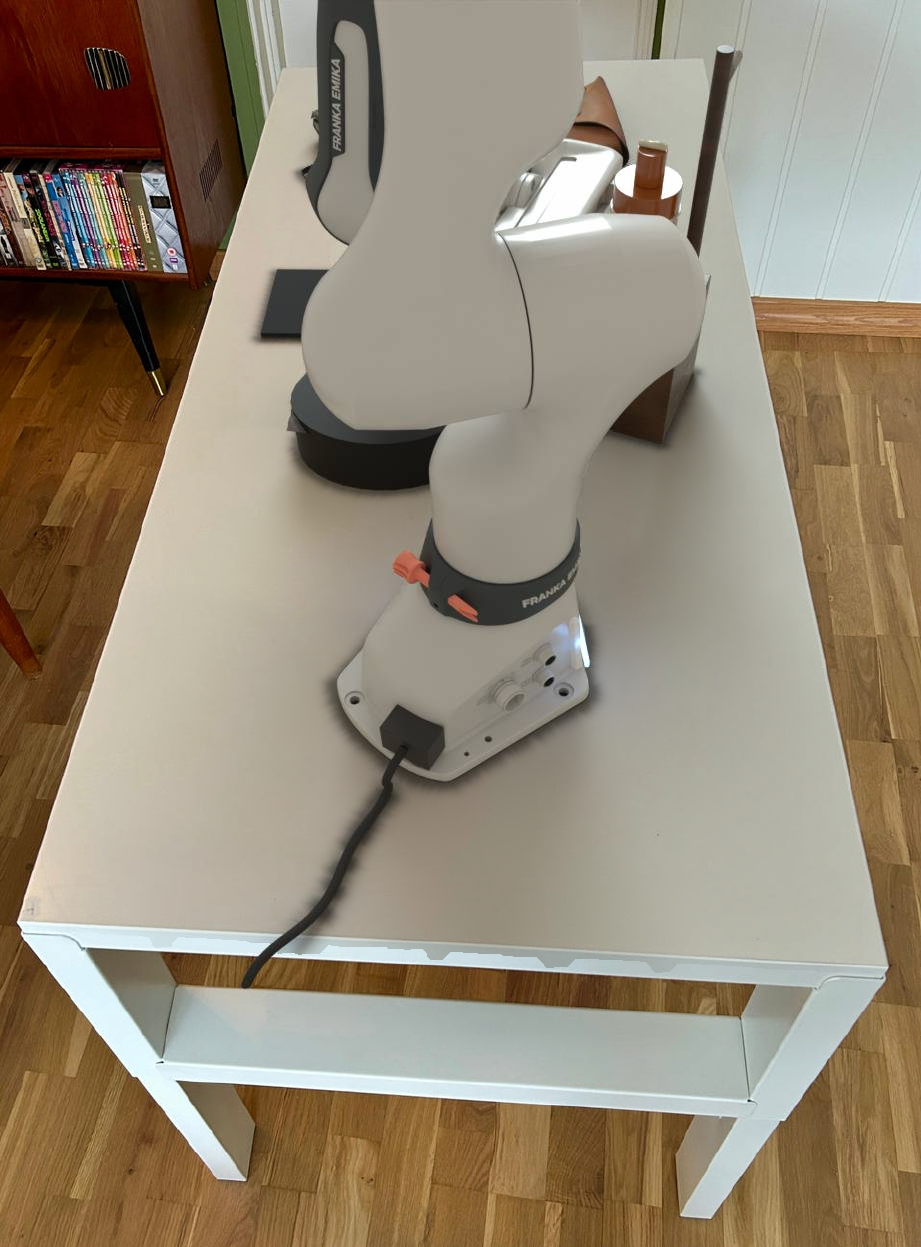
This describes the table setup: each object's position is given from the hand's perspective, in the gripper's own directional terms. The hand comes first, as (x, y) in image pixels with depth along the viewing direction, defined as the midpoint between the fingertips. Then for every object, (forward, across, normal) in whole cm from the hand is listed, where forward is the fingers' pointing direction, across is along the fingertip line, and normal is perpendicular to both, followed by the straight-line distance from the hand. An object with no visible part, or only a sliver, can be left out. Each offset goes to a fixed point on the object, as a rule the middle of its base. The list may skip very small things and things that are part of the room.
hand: (640, 232), depth 98 cm
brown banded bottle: (0, 0, +7) cm, 7 cm away
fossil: (-51, +24, +19) cm, 60 cm away
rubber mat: (-37, +2, +19) cm, 41 cm away
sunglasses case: (-20, +48, +19) cm, 55 cm away
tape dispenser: (-20, -15, +19) cm, 32 cm away
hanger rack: (0, 0, +19) cm, 19 cm away
